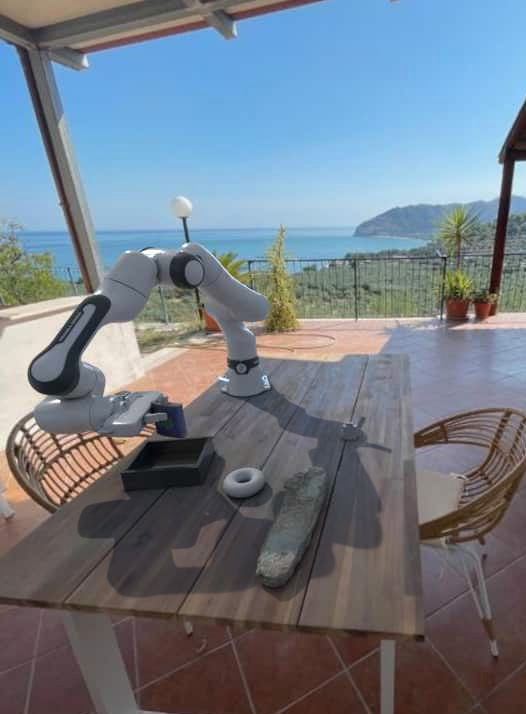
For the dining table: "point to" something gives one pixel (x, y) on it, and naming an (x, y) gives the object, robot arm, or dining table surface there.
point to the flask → (170, 418)
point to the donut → (247, 489)
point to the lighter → (352, 428)
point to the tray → (168, 463)
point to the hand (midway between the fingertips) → (171, 411)
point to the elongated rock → (292, 526)
